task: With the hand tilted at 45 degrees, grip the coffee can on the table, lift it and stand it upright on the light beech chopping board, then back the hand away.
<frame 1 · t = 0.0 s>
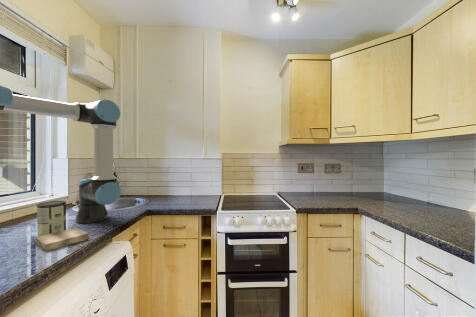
coffee can: (52, 233, 99), on the worktop
chopping board: (62, 241, 90), on the worktop
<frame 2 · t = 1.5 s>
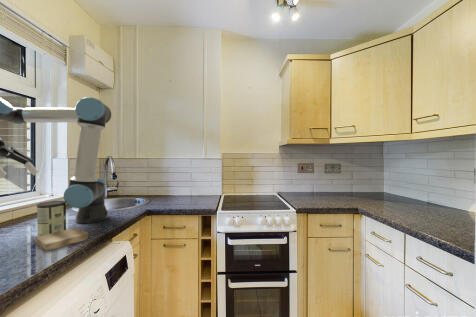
hand: (21, 174, 95), 28 cm above the worktop, tool tilted 45°, fingers open, 13 cm apart
nothing on the worktop moved.
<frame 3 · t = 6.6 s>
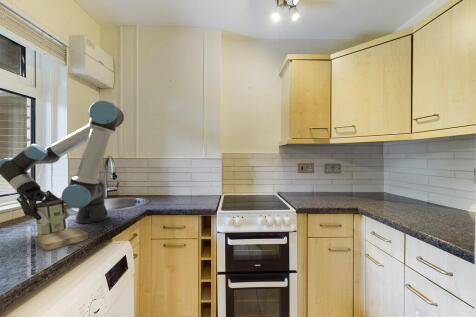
hand: (58, 220, 99), 6 cm above the worktop, tool tilted 45°, fingers closed on coffee can, 10 cm apart
coffee can: (52, 232, 100), on the worktop, touching arm, gripper
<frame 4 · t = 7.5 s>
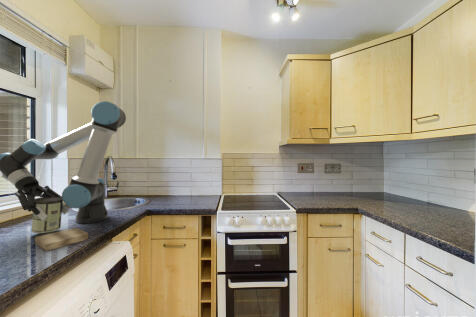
hand: (56, 215, 99), 8 cm above the worktop, tool tilted 45°, fingers closed on coffee can, 10 cm apart
coffee can: (46, 229, 99), point 2 cm above the worktop, touching gripper
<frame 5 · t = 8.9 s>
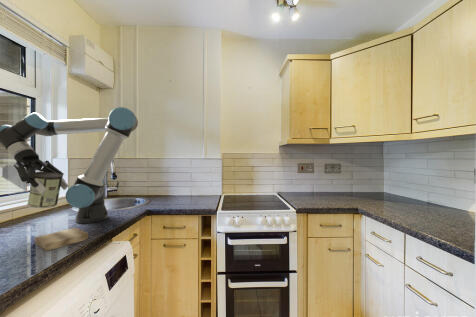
hand: (55, 189, 96), 21 cm above the worktop, tool tilted 45°, fingers closed on coffee can, 10 cm apart
coffee can: (42, 204, 97), point 14 cm above the worktop, touching gripper
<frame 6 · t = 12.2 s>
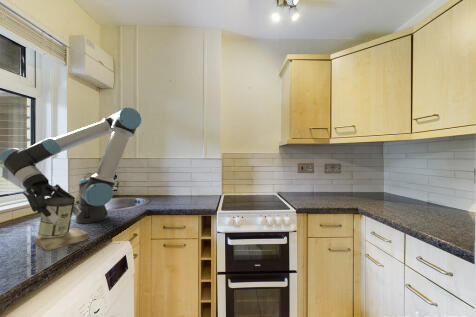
hand: (68, 217, 90), 10 cm above the worktop, tool tilted 45°, fingers closed on coffee can, 10 cm apart
coffee can: (53, 233, 90), point 3 cm above the worktop, touching chopping board, gripper
when the fingers open (10 cm above the worktop, at t = 12.8 s): coffee can stays where it is, resting on chopping board.
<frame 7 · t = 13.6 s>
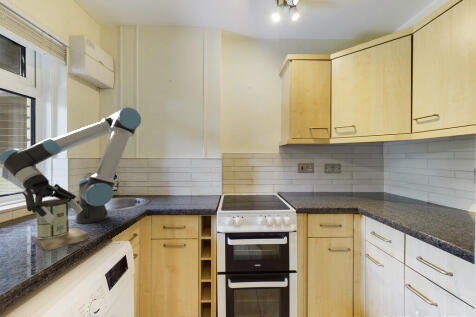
hand: (67, 215, 90), 11 cm above the worktop, tool tilted 45°, fingers open, 13 cm apart
coffee can: (53, 235, 90), point 2 cm above the worktop, touching chopping board
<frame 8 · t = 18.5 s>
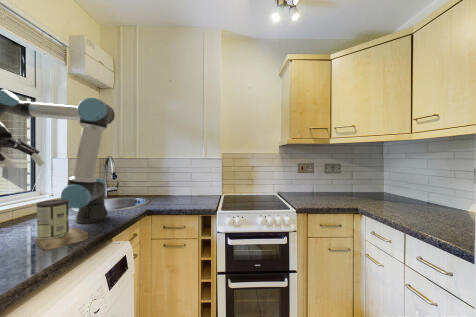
hand: (27, 165, 97), 32 cm above the worktop, tool tilted 45°, fingers open, 13 cm apart
nothing on the worktop moved.
at the end: coffee can inside the target area on the chopping board (3.8 cm from its centre), point 2.3 cm above the chopping board's base; coffee can tilted 0°; the gripper is holding nothing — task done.
